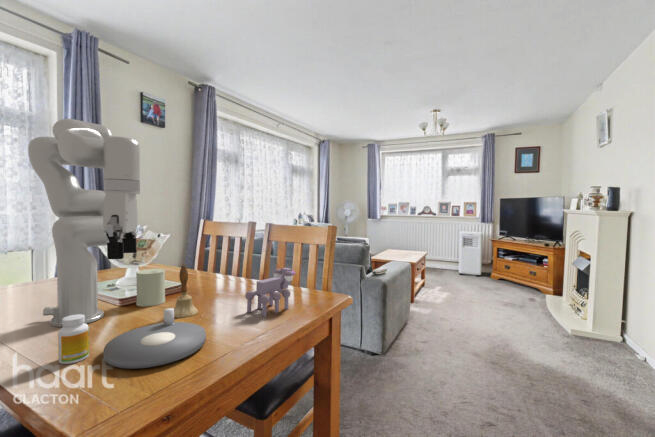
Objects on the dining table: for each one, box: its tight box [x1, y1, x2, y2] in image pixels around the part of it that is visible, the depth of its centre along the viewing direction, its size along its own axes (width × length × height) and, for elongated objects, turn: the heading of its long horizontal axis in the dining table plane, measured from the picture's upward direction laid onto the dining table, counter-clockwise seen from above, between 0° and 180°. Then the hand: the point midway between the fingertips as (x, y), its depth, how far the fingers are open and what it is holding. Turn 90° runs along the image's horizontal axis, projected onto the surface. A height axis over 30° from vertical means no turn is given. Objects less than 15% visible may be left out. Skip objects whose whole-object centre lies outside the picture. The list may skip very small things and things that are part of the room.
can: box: [135, 268, 166, 308], centre depth 111 cm, size 9×9×12 cm
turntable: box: [103, 307, 207, 369], centre depth 76 cm, size 22×22×6 cm
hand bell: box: [174, 264, 199, 319], centre depth 101 cm, size 8×8×16 cm
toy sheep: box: [245, 267, 296, 318], centre depth 108 cm, size 20×11×14 cm, turn 142°
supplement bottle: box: [57, 314, 90, 365], centre depth 70 cm, size 5×5×10 cm
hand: (122, 255), depth 77 cm, fingers open, 9 cm apart
